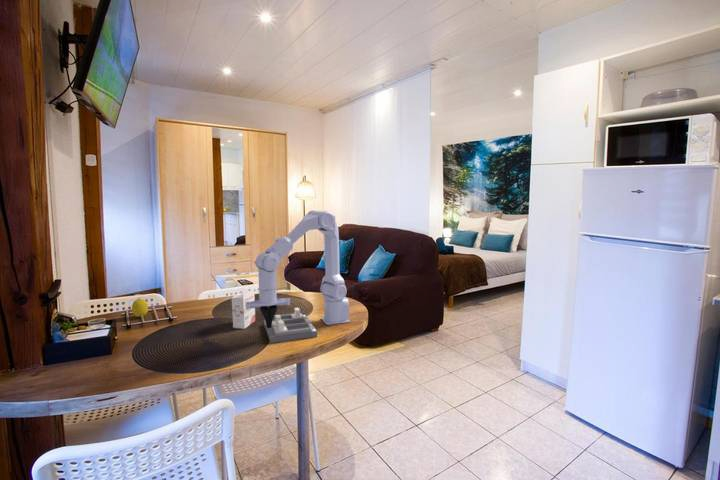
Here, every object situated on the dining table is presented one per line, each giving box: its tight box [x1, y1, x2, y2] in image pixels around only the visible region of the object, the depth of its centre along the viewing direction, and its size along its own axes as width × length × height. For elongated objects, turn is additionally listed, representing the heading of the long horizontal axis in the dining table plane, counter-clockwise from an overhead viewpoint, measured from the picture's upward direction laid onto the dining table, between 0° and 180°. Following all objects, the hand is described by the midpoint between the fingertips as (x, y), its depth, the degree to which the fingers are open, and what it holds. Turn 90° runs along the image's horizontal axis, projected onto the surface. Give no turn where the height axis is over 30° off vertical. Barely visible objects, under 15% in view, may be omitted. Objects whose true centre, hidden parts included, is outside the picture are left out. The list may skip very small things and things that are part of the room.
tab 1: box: [272, 314, 285, 329], centre depth 126 cm, size 4×4×4 cm
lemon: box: [131, 297, 149, 318], centre depth 140 cm, size 6×6×8 cm
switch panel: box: [263, 312, 318, 344], centre depth 128 cm, size 16×18×3 cm
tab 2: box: [274, 320, 288, 334], centre depth 121 cm, size 4×4×4 cm
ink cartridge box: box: [231, 284, 256, 330], centre depth 133 cm, size 9×5×15 cm, turn 168°
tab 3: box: [291, 307, 304, 319], centre depth 134 cm, size 4×4×4 cm
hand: (268, 327), depth 120 cm, fingers closed
